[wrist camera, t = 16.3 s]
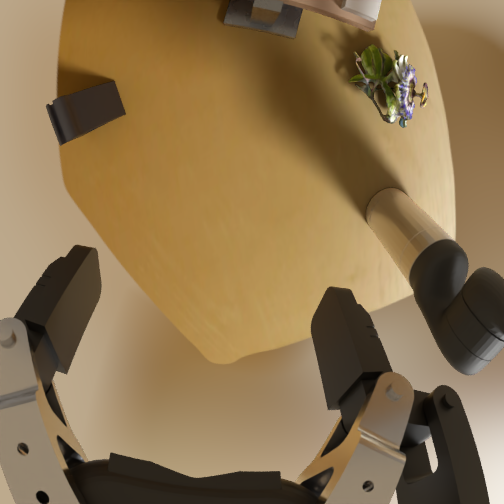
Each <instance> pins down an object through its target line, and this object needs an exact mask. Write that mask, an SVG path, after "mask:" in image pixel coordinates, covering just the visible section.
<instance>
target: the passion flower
mask: <svg viewBox="0 0 504 504" xmlns="http://www.w3.org/2000/svg"><path fill="white" fill-rule="evenodd" d="M394 52H395V60H394V61H392V59H391V58H390V57H389V56H388V55H387V54H385V53H384V52H382V48H377V47H376V46H375V45H373V44H371V45H370V46H369V47H366V49H365V50H364V51H363V53H362V54H361V58H360V57H359V56H358V54H357V53H356V52H354V53H353V54H354V55H355V56H356V65H357V67H358V69H359V71H360V73H361V74H359V75H356V76H353V77H352V78H351V79H350V80H349V81H348V82H349V83H350V82H364V83H365V84H366V85H364V86H363V87H360V86H358V85H357V84H355V85H356V86H357V87H358V88H359V89H361V90H362V91H363V92H365V93H366V95H367V96H368V97H369V98H370V99H371V100H372V101H373V103H374V104H375V106H376V107H377V109H378V111H379V113H380V116H381V117H382V119H383V120H384V121H386V122H387V123H391V124H392V123H395V122H396V120H397V117H399V116H401V118H400V120H399V125H400V126H401V127H402V128H404V127H407V126H406V120H411V119H412V113H413V108H414V107H415V104H414V102H413V97H415V96H418V97H420V98H421V103H420V107H421V108H424V106H426V100H427V98H429V97H428V87H427V83H424V85H423V90H422V93H421V94H419V93H416V92H415V90H414V88H415V86H416V83H417V78H416V77H415V75H414V74H415V69H414V67H412V65H411V66H410V64H409V65H408V66H407V58H408V56H407V55H406V56H404V57H403V55H400V56H398V52H397V51H396V50H394ZM357 61H361V63H362V66H363V68H364V69H365V72H366V74H363V72H362V71H361V69H360V67H359V66H358V64H357ZM391 68H393V70H392V72H391V73H390V74H389V75H388V76H387V77H386V75H387V73H388V72H389V71H390V70H391ZM370 81H372V82H373V83H374V87H373V89H370V87H369V82H370ZM391 81H394V82H396V83H397V84H396V85H395V86H394V88H390V87H389V86H388V83H389V82H391ZM378 84H380V85H381V87H382V89H377V88H376V86H377V85H378ZM391 89H394V91H395V95H396V97H395V95H394V93H393V92H392V90H391ZM377 90H383V91H384V93H385V98H386V106H387V108H388V111H387V114H386V115H383V114H382V112H381V110H380V108H379V107H378V105H377V103H376V101H375V100H374V92H375V91H377Z"/></svg>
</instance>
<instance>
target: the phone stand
mask: <svg viewBox="0 0 504 504" xmlns="http://www.w3.org/2000/svg"><path fill="white" fill-rule="evenodd" d="M46 108H47V111H48V114H49V117H50V120H51V123H52V126H53V128H54V131H55V134H56V136H57V139H58V141H59V144H60V146H61V145H63V144H65V143H67V142H69V141H71V140H73V139H76V138H78V137H81V136H83V135H85V134H87V133H88V132H90V131H92V130H94V129H96V128H98V127H100V126H102V125H104V124H106V123H108V122H110V121H112V120H114V119H116V118H118V117H121V116H123V115H125V114H126V113H125V110H124V107H123V104H122V102H121V99H120V96H119V93H118V90H117V87H116V84H115V81H112V82H109V83H105V84H101V85H98V86H95V87H91V88H88V89H85V90H82V91H79V92H76V93H73V94H70V95H65V96H61V97H59V98H57V99H55V100H53V104H52V105H49V104H47V105H46Z"/></svg>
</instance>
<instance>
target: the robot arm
mask: <svg viewBox="0 0 504 504" xmlns="http://www.w3.org/2000/svg"><path fill="white" fill-rule="evenodd" d="M366 220H367V223H368V225H369V226H370V228H371V229H372V230H373V232H374V233H375V234H376V236H377V237H378V239H379V240H380V242H381V243H382V244H383V246H384V247H385V249H386V250H387V251H388V253H389V254H390V256H391V257H392V259H393V260H394V262H395V263H396V265H397V266H398V268H399V269H400V271H401V272H402V274H403V275H404V277H405V278H406V280H407V281H408V283H409V284H410V286H411V287H412V289H413V291H414V297H415V300H416V302H417V304H418V306H419V308H420V310H421V311H422V313H423V316H424V318H425V319H426V322H427V324H428V326H429V328H430V330H431V333H432V335H433V337H434V339H435V340H436V343H437V345H438V347H439V349H440V350H441V352H442V354H443V355H444V357H445V358H446V360H447V361H448V362H449V363H450V365H451V366H452V367H454V368H455V369H456V370H457V371H458V372H460V373H462V374H465V375H474V374H476V373H478V372H479V371H481V370H482V369H483V368H484V367H485V366H486V365H487V364H488V363H489V362H490V361H491V360H492V359H493V358H494V357H495V356H496V355H497V354H498V353H499V352H500V351H501V350H502V348H504V279H503V278H502V277H501V276H500V275H499V274H498V273H496V272H495V271H493V270H491V269H489V268H485V267H482V268H479V269H477V270H476V271H475V272H474V273H473V274H472V275H471V276H470V277H469V279H468V280H467V281H466V283H465V280H466V277H467V273H468V258H467V255H466V253H465V252H464V250H463V249H462V248H461V247H460V246H459V245H458V244H457V243H456V242H455V241H454V240H453V239H452V238H451V237H450V236H449V235H448V234H447V233H446V232H445V231H444V230H443V229H442V228H441V227H440V226H439V225H438V224H437V223H436V222H435V221H434V220H433V219H432V218H431V217H430V216H429V215H428V214H427V213H426V212H425V211H424V210H422V209H421V208H420V207H419V206H418V205H417V204H416V203H415V202H414V201H413V200H412V199H410V198H409V197H408V196H407V195H406V194H405V193H404V192H402V191H401V190H399V189H396V188H387V189H384V190H381V191H380V192H378V193H377V194H376V195H375V196H374V197H373V198H372V199H371V200H370V202H369V204H368V207H367V210H366ZM464 283H465V284H464ZM100 294H101V277H100V269H99V260H98V252H97V250H96V249H95V248H92V247H86V246H81V245H75V246H74V247H73V248H72V249H71V250H70V252H69V253H68V255H67V256H66V257H60V258H58V259H57V260H55V261H54V262H53V263H51V264H50V265H49V266H48V268H47V269H46V270H45V272H44V273H43V274H42V277H40V279H39V280H38V281H37V283H36V286H34V287H33V288H32V290H31V291H30V293H29V294H28V296H27V297H26V299H25V300H24V302H23V303H22V305H21V307H20V308H19V310H18V312H17V313H16V315H15V316H14V318H4V319H2V320H0V464H1V467H2V470H3V473H4V476H5V478H6V481H7V484H8V486H9V488H10V491H11V494H12V496H13V499H14V501H15V503H16V504H389V503H390V501H391V498H392V496H393V494H394V491H395V489H396V493H397V500H398V504H490V503H489V497H488V492H487V487H486V483H485V478H484V474H483V470H482V466H481V462H480V458H479V455H478V451H477V448H476V444H475V441H474V438H473V434H472V431H471V428H470V425H469V422H468V419H467V416H466V413H465V411H464V408H463V405H462V403H461V400H460V398H459V396H458V394H457V393H456V392H455V391H454V390H453V389H452V388H451V387H449V386H446V385H441V386H438V387H437V388H436V389H435V390H434V391H433V392H431V393H426V392H421V391H417V390H413V388H412V386H411V384H410V382H409V381H408V380H407V379H406V378H405V377H404V376H402V375H400V374H398V373H395V372H393V371H392V369H391V366H390V363H389V361H388V358H387V355H386V353H385V350H384V348H383V346H382V343H381V341H380V338H378V334H377V331H376V329H374V324H373V322H372V319H371V317H370V315H369V314H368V313H367V311H366V310H365V309H364V308H363V307H362V306H361V304H357V302H356V300H355V298H354V295H353V293H352V291H351V290H350V289H346V288H338V287H329V288H327V290H326V292H325V294H324V296H323V298H322V300H321V302H320V304H319V306H318V308H317V310H316V312H315V314H314V316H313V318H312V322H311V334H312V338H313V343H314V347H315V351H316V356H317V360H318V365H319V370H320V374H321V378H322V383H323V388H324V393H325V398H326V402H327V407H328V410H339V409H340V411H341V416H340V417H339V418H338V420H337V421H336V423H335V425H334V427H333V429H332V430H331V432H330V434H329V436H328V437H327V439H326V441H325V443H324V444H323V446H322V448H321V449H320V451H319V452H318V454H317V456H316V457H315V459H314V460H313V461H312V462H311V463H310V465H309V466H307V468H306V469H305V470H304V471H303V472H302V473H301V474H300V476H299V477H298V478H297V480H296V481H295V483H294V482H292V481H288V480H285V479H281V476H280V471H270V472H243V471H242V472H241V471H239V472H234V473H228V474H223V475H216V476H210V477H203V478H193V477H189V476H186V475H183V474H180V473H178V472H175V471H173V470H170V469H168V468H165V467H163V466H160V465H158V464H155V463H153V462H150V461H145V460H140V459H135V458H131V457H126V456H122V455H118V454H115V453H110V458H109V459H102V460H93V461H88V459H87V457H86V455H85V453H84V451H83V449H82V447H81V445H80V443H79V442H78V440H77V439H76V437H75V435H74V434H73V432H72V430H71V427H70V425H69V423H68V420H67V418H66V415H65V412H64V409H63V407H62V404H61V401H60V398H59V396H58V392H57V389H56V386H55V383H54V380H53V377H54V374H55V372H56V371H58V372H61V373H64V374H67V373H68V370H69V367H70V365H71V362H72V360H73V357H74V355H75V352H76V350H77V347H78V345H79V343H80V340H81V338H82V336H83V333H84V331H85V329H86V327H87V324H88V322H89V320H90V318H91V316H92V313H93V311H94V309H95V307H96V305H97V303H98V301H99V298H100ZM431 436H432V440H433V443H434V447H435V451H436V455H437V459H438V467H437V470H436V471H435V472H434V473H433V472H432V470H431V466H430V461H429V457H428V453H427V449H426V445H425V440H427V439H428V438H430V437H431Z"/></svg>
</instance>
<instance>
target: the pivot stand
mask: <svg viewBox="0 0 504 504" xmlns="http://www.w3.org/2000/svg"><path fill="white" fill-rule="evenodd" d="M302 10H303V8H299V7H296V6H292V5H288V4H284V3H283V1H279V0H230V2H229V5H228V9H227V12H226V16H225V20H224V25H228V26H234V27H240V28H246V29H251V30H256V31H261V32H266V33H270V34H275V35H279V36H283V37H287V38H291V39H294V38H295V36H296V33H297V29H298V25H299V21H300V18H301V14H302Z"/></svg>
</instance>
